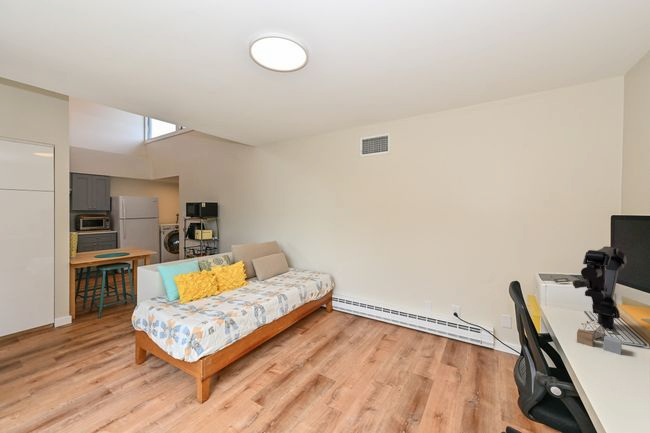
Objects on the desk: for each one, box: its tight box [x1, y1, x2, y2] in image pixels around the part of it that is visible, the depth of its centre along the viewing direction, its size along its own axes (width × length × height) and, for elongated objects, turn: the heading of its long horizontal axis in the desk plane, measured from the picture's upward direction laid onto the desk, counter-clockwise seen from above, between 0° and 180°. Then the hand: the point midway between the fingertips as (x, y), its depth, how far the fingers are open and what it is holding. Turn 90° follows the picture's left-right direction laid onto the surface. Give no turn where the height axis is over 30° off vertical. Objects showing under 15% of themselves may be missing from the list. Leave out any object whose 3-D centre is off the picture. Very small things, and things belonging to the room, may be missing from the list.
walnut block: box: [576, 328, 595, 348], centre depth 120 cm, size 5×5×5 cm
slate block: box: [603, 334, 623, 356], centre depth 114 cm, size 5×5×5 cm
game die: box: [581, 319, 608, 341], centre depth 124 cm, size 9×8×10 cm
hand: (595, 307), depth 128 cm, fingers closed
